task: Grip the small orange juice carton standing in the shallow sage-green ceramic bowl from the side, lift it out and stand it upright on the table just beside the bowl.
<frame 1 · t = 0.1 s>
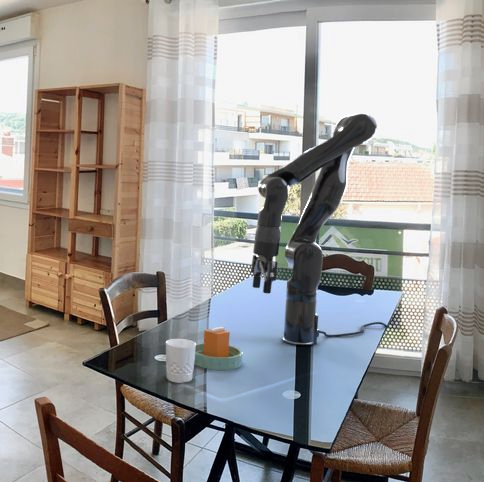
hand: (261, 290, 197), 17 cm above the table, tool pointing down, fingers open, 8 cm apart
bowl: (215, 363, 179), on the table
carton: (215, 361, 178), resting on bowl
white cup: (179, 379, 166), on the table
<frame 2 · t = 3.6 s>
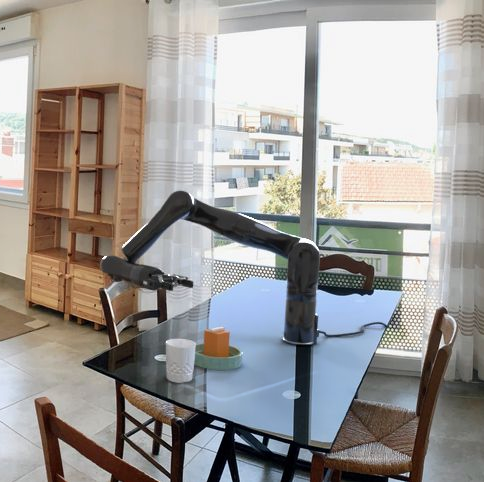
hand: (182, 286, 188), 20 cm above the table, tool horizontal, fingers open, 8 cm apart
nothing on the table moved.
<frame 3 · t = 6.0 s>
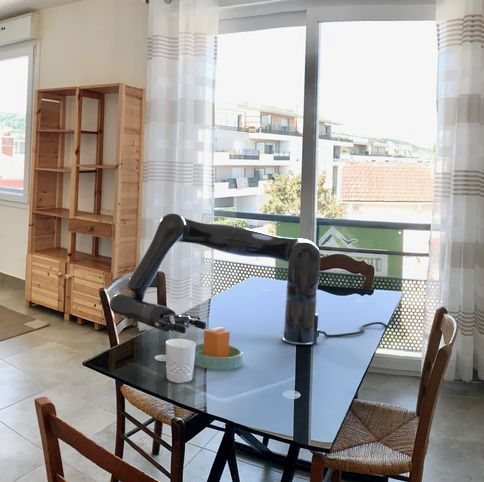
hand: (195, 327, 184), 9 cm above the table, tool horizontal, fingers open, 8 cm apart
nothing on the table moved.
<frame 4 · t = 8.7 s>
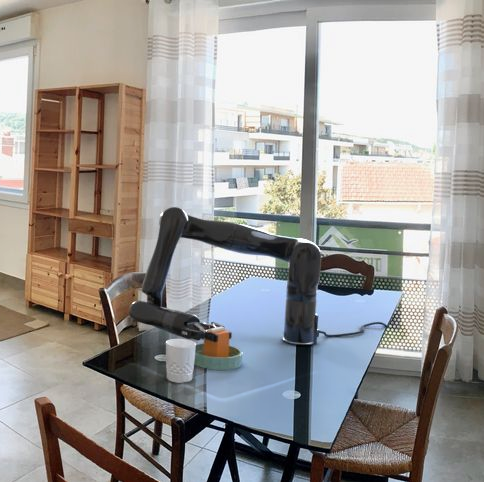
hand: (223, 337, 175), 9 cm above the table, tool horizontal, fingers closed on carton, 5 cm apart
carton: (215, 361, 178), point 1 cm above the table, touching bowl, gripper
everything else where it was.
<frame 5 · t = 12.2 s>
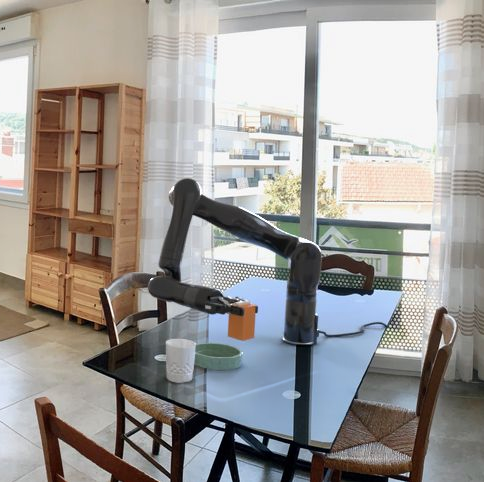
hand: (250, 310, 167), 18 cm above the table, tool horizontal, fingers closed on carton, 5 cm apart
carton: (240, 337, 170), point 10 cm above the table, touching gripper
everything else where it was.
when the fingers open (8 cm above the table, at t = 15.8 s): carton stays where it is, on the table.
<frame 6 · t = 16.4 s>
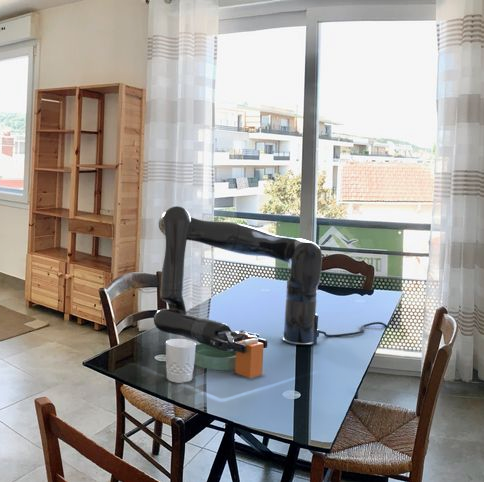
hand: (256, 346, 166), 8 cm above the table, tool horizontal, fingers open, 8 cm apart
carton: (248, 375, 169), on the table
everything else where it was.
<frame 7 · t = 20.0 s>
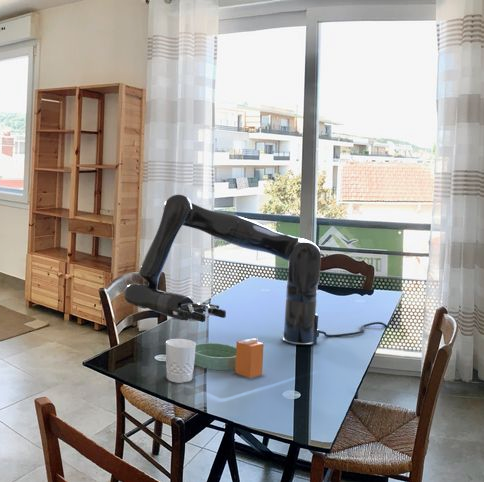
hand: (214, 316, 178), 14 cm above the table, tool horizontal, fingers open, 8 cm apart
nothing on the table moved.
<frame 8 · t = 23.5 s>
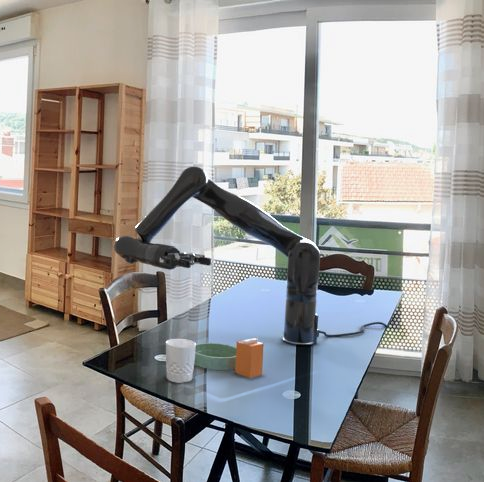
hand: (200, 263, 183), 28 cm above the table, tool horizontal, fingers open, 8 cm apart
nothing on the table moved.
at the end: carton inside the target area (0.5 cm from its centre), on the table; carton tilted 0°; carton touching table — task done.
